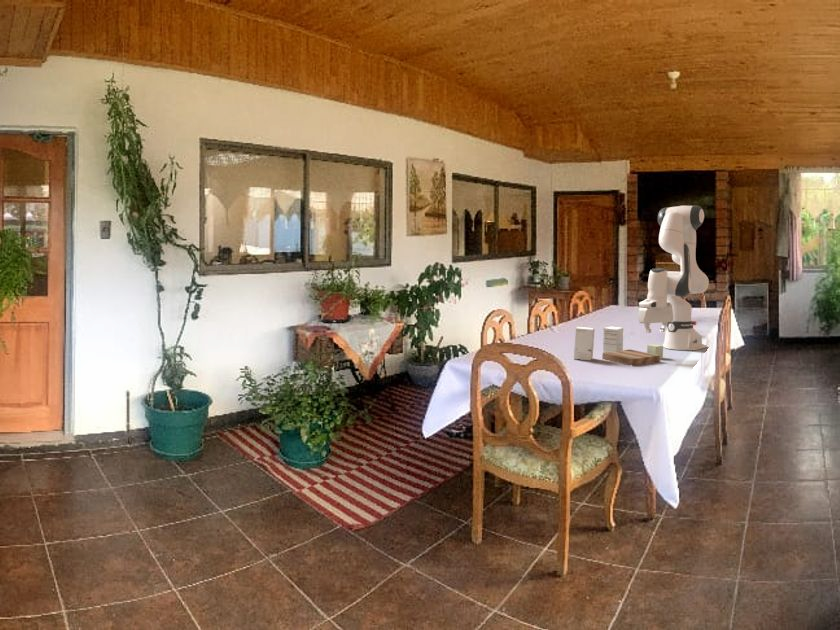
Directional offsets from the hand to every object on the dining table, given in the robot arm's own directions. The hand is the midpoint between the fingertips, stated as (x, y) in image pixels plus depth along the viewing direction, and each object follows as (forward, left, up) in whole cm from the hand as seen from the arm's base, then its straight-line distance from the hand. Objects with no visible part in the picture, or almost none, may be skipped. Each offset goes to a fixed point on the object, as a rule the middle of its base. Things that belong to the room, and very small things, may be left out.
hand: (655, 332), depth 333 cm
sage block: (-1, 0, -12) cm, 12 cm away
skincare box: (+30, -15, -13) cm, 36 cm away
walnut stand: (+14, -1, -12) cm, 19 cm away
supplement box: (+7, -19, -13) cm, 24 cm away
